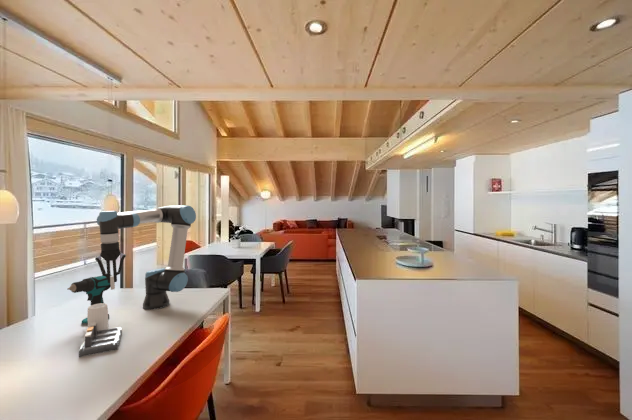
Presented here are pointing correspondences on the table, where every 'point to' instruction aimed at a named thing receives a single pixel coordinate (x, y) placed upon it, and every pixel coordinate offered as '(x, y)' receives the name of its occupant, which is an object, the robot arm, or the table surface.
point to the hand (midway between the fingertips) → (112, 288)
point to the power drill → (92, 289)
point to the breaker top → (88, 339)
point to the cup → (98, 315)
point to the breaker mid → (91, 329)
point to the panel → (103, 342)
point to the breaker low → (94, 327)
